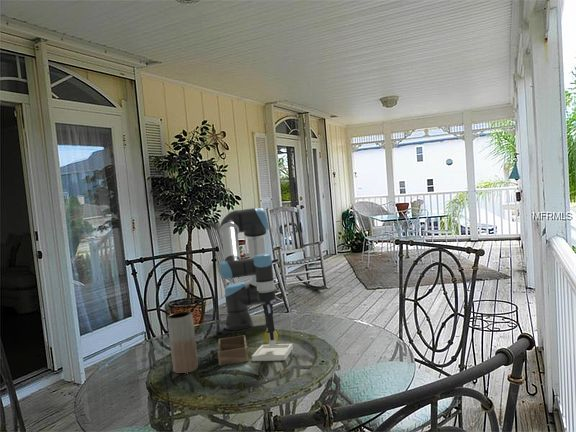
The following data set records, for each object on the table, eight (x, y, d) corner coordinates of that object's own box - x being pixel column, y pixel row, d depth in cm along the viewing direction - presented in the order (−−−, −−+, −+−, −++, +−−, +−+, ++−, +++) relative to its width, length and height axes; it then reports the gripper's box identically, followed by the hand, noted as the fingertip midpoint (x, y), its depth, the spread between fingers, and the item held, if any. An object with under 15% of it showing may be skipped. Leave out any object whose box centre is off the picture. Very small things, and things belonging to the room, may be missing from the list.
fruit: (263, 347, 184) (261, 329, 184) (268, 343, 189) (266, 325, 189) (275, 348, 182) (273, 328, 182) (280, 343, 187) (278, 325, 187)
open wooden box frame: (220, 351, 199) (218, 339, 199) (246, 346, 201) (245, 335, 201) (219, 365, 180) (217, 352, 180) (248, 360, 181) (246, 347, 181)
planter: (171, 368, 182) (165, 314, 182) (195, 363, 186) (189, 310, 186) (175, 376, 173) (168, 319, 173) (200, 370, 177) (194, 314, 177)
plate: (262, 349, 194) (261, 344, 194) (293, 348, 191) (292, 343, 191) (252, 361, 181) (251, 355, 181) (284, 360, 177) (284, 354, 177)
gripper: (255, 288, 194) (261, 340, 194) (258, 295, 176) (265, 353, 176) (272, 286, 195) (278, 338, 195) (277, 293, 177) (283, 350, 177)
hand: (272, 345), depth 186 cm, fingers closed on fruit, 6 cm apart
